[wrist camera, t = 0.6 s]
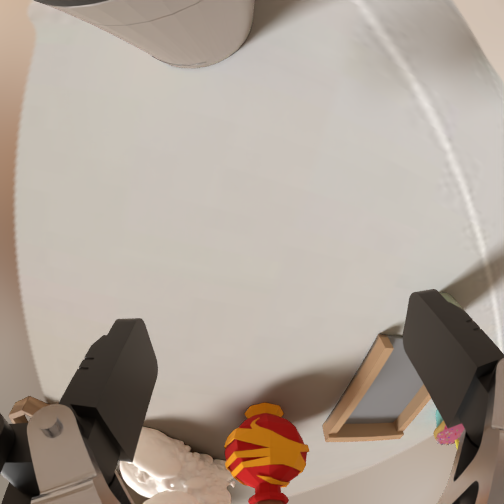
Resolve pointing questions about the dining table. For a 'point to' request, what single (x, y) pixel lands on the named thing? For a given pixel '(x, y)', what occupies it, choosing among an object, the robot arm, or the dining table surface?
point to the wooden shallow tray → (378, 396)
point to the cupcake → (447, 432)
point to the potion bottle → (265, 453)
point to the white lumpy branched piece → (175, 472)
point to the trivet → (25, 409)
